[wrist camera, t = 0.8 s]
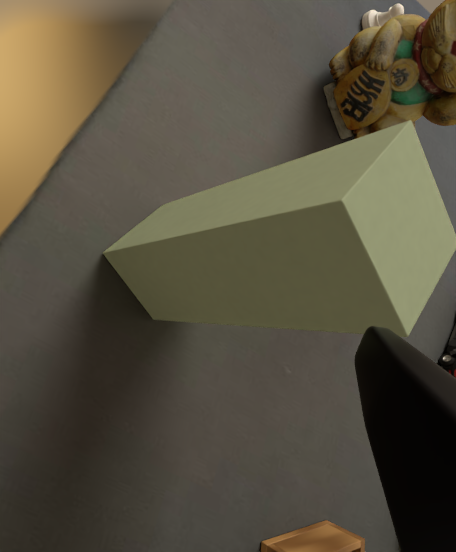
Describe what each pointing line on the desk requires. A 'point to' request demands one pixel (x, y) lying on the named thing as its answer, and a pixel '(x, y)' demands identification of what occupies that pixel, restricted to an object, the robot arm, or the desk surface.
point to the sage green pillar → (300, 243)
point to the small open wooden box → (316, 540)
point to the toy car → (450, 355)
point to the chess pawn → (381, 16)
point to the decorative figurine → (396, 74)
